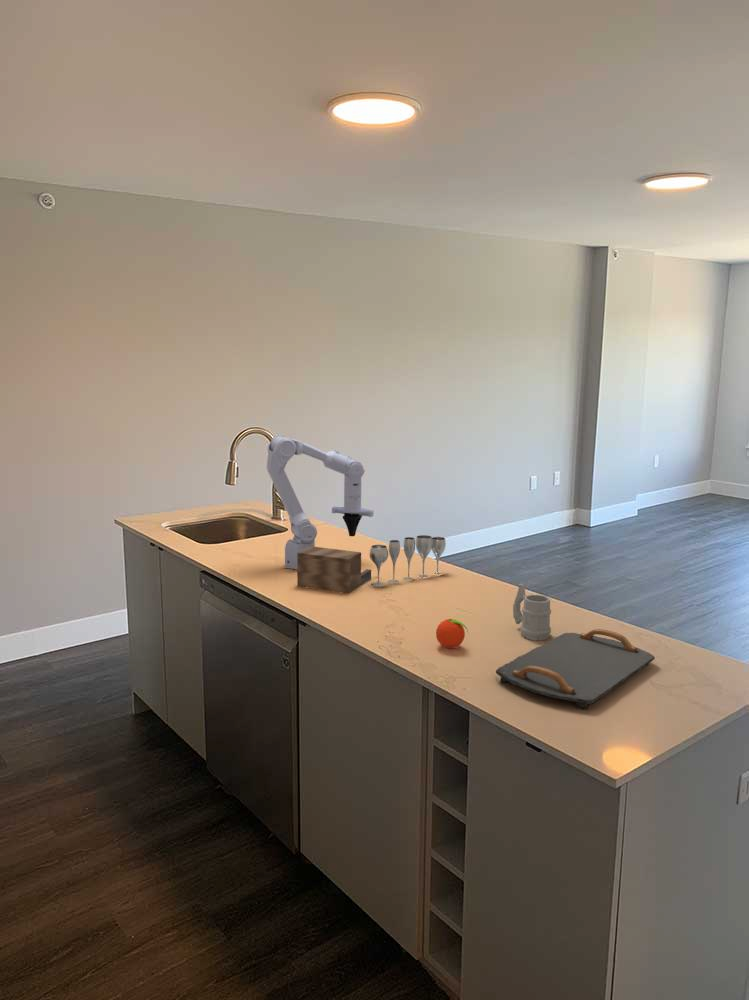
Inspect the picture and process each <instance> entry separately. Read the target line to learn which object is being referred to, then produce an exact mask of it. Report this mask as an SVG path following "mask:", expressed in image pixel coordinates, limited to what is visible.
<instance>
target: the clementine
mask: <svg viewBox="0 0 749 1000" xmlns="http://www.w3.org/2000/svg"><path fill="white" fill-rule="evenodd" d="M464 628H465V629H466V631H467V632H469V631H468V628H467V626H466V625H465V624H464V623H463V622H461V621H459V620H456V619H454V618H448V619H444V620H443V621H441V622H440V623H439V624H438V626H437V628H436V631H435V635H436V636H435V637H436V640H437V642H438V643H439V644H440V645H441V646H442V647H444V648H447V649H456V648H458V647H459V646H461V644H462V643H463V641H464V639H465V637H466V635H465V634H466V632H465V629H464Z"/></svg>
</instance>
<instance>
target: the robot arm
mask: <svg viewBox="0 0 749 1000" xmlns="http://www.w3.org/2000/svg"><path fill="white" fill-rule="evenodd" d="M303 454H304V455H305V456H308V457H310V458H313V459H316V460H319V461H321V462H322V463H323V466H324V467H325V468H327V469H330V470H332V471H334V472H337V473H340V474H343V476H344V477H343V478H344V481H343V482H344V483H343V488H344V489H343V506H332V507H331V514H340V515H342V519H343V521H344V523H345V525H346V528H347V531H348V532H347V533H348V535H349V537H355V536H356V533H357V529H358V526H359V523H360V521H361V519H362V518H363V517H368V518H372V517H374V510H372V509H367V508H366V509H365V508H362V478H363V475H365V469H364V466H363V464H362V463H361V462H360V461H357V460H355V459H352V457H351V456H346V455H343V454H341V453H340V451H339V450H329V451H327V452H326V451H323V450H322V449H319V448H317V447H315V446H312V445H311V444H308V443H306V442H304V441H301V440H298V439H294V438H291V437H290V438H289V437H286V436H283V435H275V436H274V437H273V438H272V439H271V441H270V442H269V444H268V446H267V458H266V459H267V460H266V461H267V462H266V470H267V472H268V475H269V477H270V479H271V481H272V483H273V485H274V488H275V489H276V492H277V494H278V495H279V497H280V499H281V502H282V504H283V507H284V509H285V511H286V512H287V516H288V517H289V518H288V520H289V523H290V531H291V533H292V534H293V538H292V539H291V538H290V539H288V540H287V541H286V543H285V545H284V565H283V568H284V569H285V568H286V569H292V570H297V553H298V552H300V551H302V550H304V549H307V548H309V547H311V546H313V547H316V546H315V545H316V542H315V540H316V538H317V534H318V529H317V527H316V526H315V525H314V524H312V523H311V521H310V520H309V518H308V516H307V515H306V513H305V512H304V510H303V508H302V505H301V503H300V501H299V499H298V496H297V494H296V492H295V491H294V488H293V486H292V484H291V481H290V480H289V477H288V474H287V473H286V471H285V468H286V466H287V464H288V462H289V461H290V460H291V459H292V458H293V456H294V455H295V456H299V455H303Z"/></svg>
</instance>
